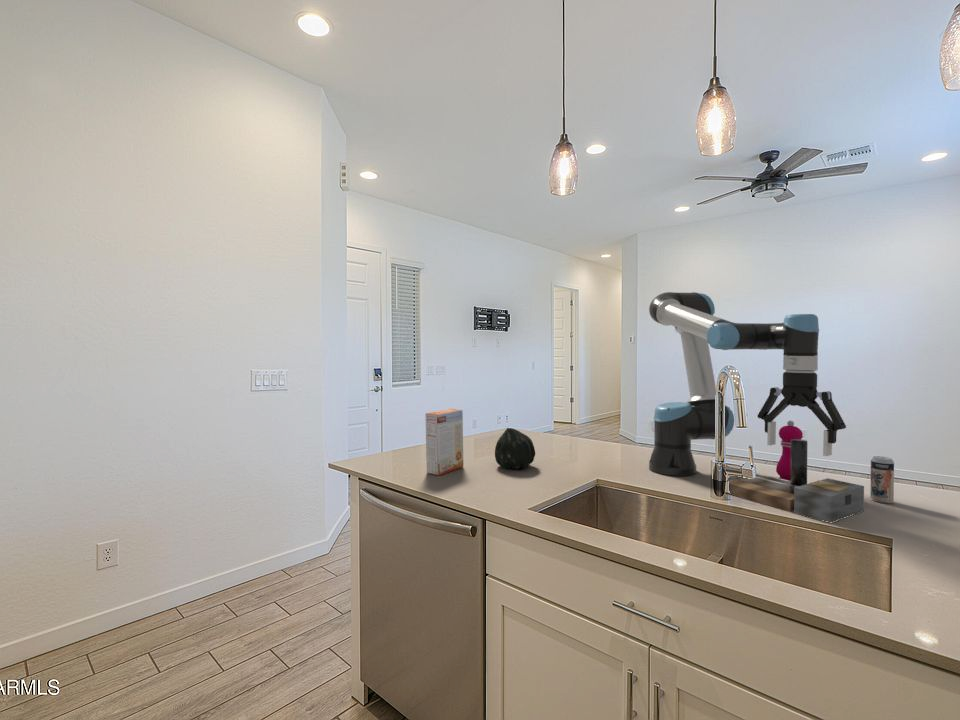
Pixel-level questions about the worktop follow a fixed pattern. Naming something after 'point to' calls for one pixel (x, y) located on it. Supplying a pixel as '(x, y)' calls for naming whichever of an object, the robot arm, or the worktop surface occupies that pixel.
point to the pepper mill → (787, 449)
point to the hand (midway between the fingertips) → (798, 449)
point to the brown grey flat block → (803, 496)
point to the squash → (514, 450)
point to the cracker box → (444, 441)
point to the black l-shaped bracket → (798, 463)
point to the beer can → (882, 479)
